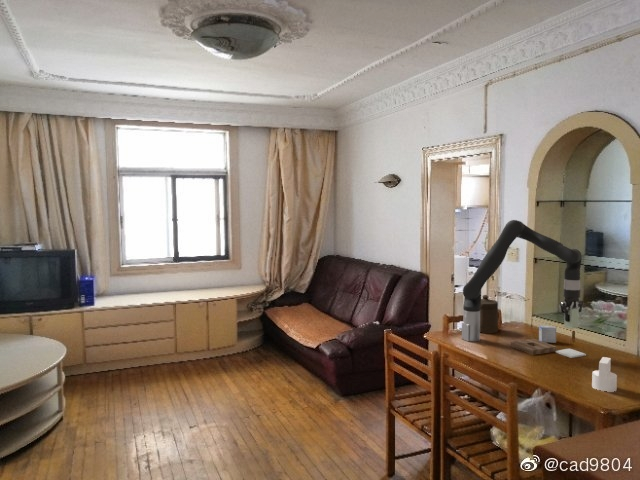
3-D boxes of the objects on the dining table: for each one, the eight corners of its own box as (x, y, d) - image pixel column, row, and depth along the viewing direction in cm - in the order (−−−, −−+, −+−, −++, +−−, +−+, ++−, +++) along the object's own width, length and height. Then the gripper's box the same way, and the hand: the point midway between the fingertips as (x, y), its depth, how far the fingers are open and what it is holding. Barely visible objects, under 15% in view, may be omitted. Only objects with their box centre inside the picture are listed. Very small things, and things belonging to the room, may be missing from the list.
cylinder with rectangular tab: (594, 382, 209) (594, 355, 208) (618, 387, 203) (619, 359, 202) (590, 388, 202) (590, 361, 201) (614, 393, 196) (615, 365, 195)
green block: (571, 328, 243) (571, 309, 243) (564, 326, 248) (564, 307, 247) (578, 327, 245) (578, 308, 244) (570, 325, 249) (571, 306, 248)
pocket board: (532, 355, 246) (532, 350, 246) (510, 346, 261) (510, 341, 261) (556, 351, 252) (556, 346, 252) (533, 343, 267) (533, 338, 267)
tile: (571, 358, 241) (571, 356, 241) (555, 352, 250) (555, 350, 250) (585, 355, 244) (586, 354, 244) (569, 349, 254) (569, 348, 254)
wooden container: (485, 326, 304) (485, 292, 303) (503, 331, 291) (503, 296, 289) (467, 329, 298) (467, 294, 296) (484, 334, 285) (485, 298, 283)
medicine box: (553, 340, 271) (553, 325, 270) (556, 343, 266) (556, 327, 266) (538, 340, 272) (538, 325, 271) (541, 342, 267) (541, 327, 266)
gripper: (576, 285, 251) (575, 318, 252) (555, 288, 246) (554, 320, 247) (588, 288, 244) (587, 321, 245) (567, 290, 239) (566, 324, 240)
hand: (571, 320), depth 246 cm, fingers closed on green block, 4 cm apart
